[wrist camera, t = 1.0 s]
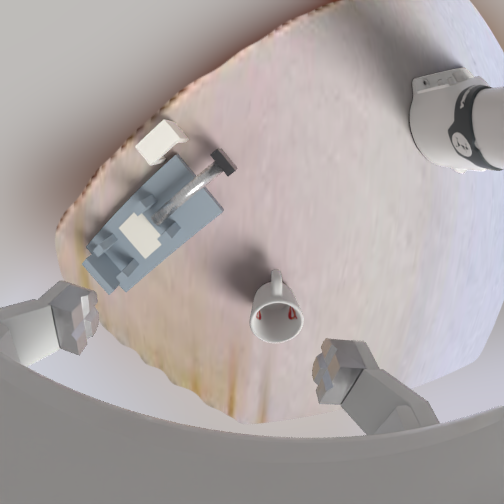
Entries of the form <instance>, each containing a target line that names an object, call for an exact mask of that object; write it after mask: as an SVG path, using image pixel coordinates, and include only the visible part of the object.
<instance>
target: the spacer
mask: <svg viewBox="0 0 504 504" xmlns="http://www.w3.org/2000/svg"><path fill="white" fill-rule="evenodd" d="M188 140H189V138H188V137H187V136H186V135H185V133H184V132H183V131H182V130H181V129H180V128H179V126H178V125H177V124H176V123H175V122H173V121H169V120H166V119H164V120H162V121H161V122H160V123H159V124H158V125H157V126H156V127H155V128H154V129H153V130H152V131H151V132H149V133H148V134H147V135H146V136H145V137H144V138H143V139H142V140H141V141H140V142H139V143H138V144H137V145H136V146H135V147H136V149H137V150H138V151H139V152H140V154H141V155H142V156H143V157H144V159H145V160H146V161H147V162H148V163H149V165H150V166H151V165H155V164H160V163H163V162H164V161H165V160H166V158H165V157H164V154H166V153H167V152H168V151H169V150H170V149H171V148H172V147H173V146H174V145H176V144H177V143H185V142H186V141H188Z"/></svg>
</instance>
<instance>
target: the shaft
mask: <svg viewBox="0 0 504 504" xmlns="http://www.w3.org/2000/svg"><path fill="white" fill-rule="evenodd" d="M210 155H211V156H212V158H213V159H214V160H215V161H214V162H213V163H212V164H211V165H209V166H208V167H207V168H206V169H205V170H203V171H202V172H201V173H200V174H199V175H197V176H196V177H195V178H194V179H193V180H191V181H190V182H189V183H188V184H187V185H186V186H184V187H183V188H182V189H181V190H180V191H179V192H178V193H176V194H175V195H174V196H173V197H172V198H171V199H170V200H169V201H167V202H166V203H165V204H164V205H163V206H162V207H161V208H160V209H159V210H158V211H157V212H155V213H154V214H153V215H152V216H151V219H152V221H153V222H154V223H155V224H156V225H158V226H159V225H160V224H161V223H163V222H164V221H165V220H166V219H167V218H168V217H169V216H170V215H172V214H173V213H174V212H175V211H176V210H177V209H178V208H180V207H181V206H182V205H183V204H184V203H185V202H187V201H188V200H189V199H190V198H191V197H192V196H194V195H195V194H196V193H197V192H198V191H200V190H201V189H202V188H203V187H204V186H206V185H207V184H208V183H209V182H211V181H212V180H213V179H214V178H215V177H217V176H218V175H219V174H220V173H222V172H223V171H224V172H225V174H226V175H227V176H229V175H231V174H232V173H233V172H234V171H236V169H237V167H236V166H235V164H234V163H233V162H232V161H231V160H230V158H229V157H228V156H227V155H226V153H225V152H224V151H223V150H222V149H217V150H215V151H214V152H213V153H212V154H210Z"/></svg>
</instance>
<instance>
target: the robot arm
mask: <svg viewBox="0 0 504 504" xmlns="http://www.w3.org/2000/svg"><path fill="white" fill-rule="evenodd" d="M423 82H424V83H425V85H424V83H423ZM412 87H413V101H412V104H411V109H410V127H411V132H412V135H413V138H414V141H415V143H416V145H417V147H418V148H419V150H420V151H421V153H422V154H423V155H424V156H425V157H426V158H427V159H428V160H429V161H430V162H432V163H433V164H435V165H438V166H442V167H449V168H451V169H453V170H454V171H455V172H457V173H460V174H464V173H465V172H466V171H467V170H473V171H485V170H486V169H487V170H496V171H500V170H503V169H504V87H497V88H492V87H490V86H489V85H488V83H487V82H486V81H485V80H484V79H483V78H482V77H480V76H477V77H474V76H473V75H472V73H471V72H470V71H469V70H467V69H466V68H456V69H451V70H447V71H442V72H438V73H433V74H429V75H425V76H421V77H417V78H415V79H413V82H412ZM97 302H98V300H97V294H96V292H95V291H93V290H90V289H87V288H84V287H81V286H78V285H75V284H72V283H69V282H66V281H59V282H57V284H55V285H54V286H53V287H52V288H51V289H49V290H48V291H47V292H46V293H45V294H43V295H42V296H41V297H40V298H39V299H38V300H35V299H32V300H29V301H25V302H21V303H17V304H13V305H9V306H6V307H2V308H0V504H504V406H497V407H494V408H491V409H489V410H486V411H483V412H480V413H477V414H473V415H470V416H467V417H463V418H460V419H456V420H453V421H448V422H445V423H439V421H438V419H437V417H436V415H435V413H434V411H433V409H432V408H431V406H430V404H429V402H428V401H426V400H425V399H424V398H422V397H421V396H419V395H418V394H417V393H415V392H414V391H412V390H411V389H410V388H408V387H407V386H405V385H404V384H403V383H401V382H400V381H398V380H397V379H396V378H394V377H393V376H392V375H390V374H389V373H387V372H386V371H385V370H383V369H379V367H378V365H377V363H376V361H375V359H374V357H373V355H372V353H371V351H370V349H369V347H368V346H367V344H366V342H364V341H355V340H351V341H350V340H339V339H329V338H326V339H325V340H324V341H323V344H322V346H321V349H322V353H321V354H319V355H318V356H317V357H316V359H315V361H314V364H313V369H312V376H313V380H314V382H315V383H316V384H317V385H318V387H317V389H316V393H317V397H318V401H319V404H335V405H341V407H342V408H343V409H344V410H345V411H346V412H347V413H348V415H349V416H350V417H351V418H352V419H353V420H354V421H355V422H356V423H357V425H358V426H359V427H360V428H361V429H362V430H363V431H364V432H365V433H366V434H367V435H365V436H352V437H335V438H334V437H333V438H293V437H291V438H290V437H272V436H258V435H249V434H240V433H232V432H224V431H218V430H211V429H206V428H200V427H195V426H190V425H185V424H180V423H176V422H171V421H167V420H163V419H159V418H155V417H151V416H148V415H144V414H141V413H137V412H134V411H130V410H127V409H124V408H121V407H118V406H115V405H112V404H109V403H106V402H104V401H101V400H98V399H95V398H93V397H90V396H87V395H85V394H83V393H80V392H78V391H75V390H73V389H71V388H68V387H66V386H64V385H62V384H60V383H57V382H55V381H53V380H51V379H49V378H47V377H45V376H42V375H41V374H39V373H37V372H35V371H33V370H31V369H29V368H28V366H30V365H32V364H34V363H35V362H37V361H39V360H41V359H43V358H45V357H47V356H49V355H50V354H52V353H54V352H56V351H58V350H60V348H61V349H63V350H66V351H69V352H71V353H74V354H77V355H80V354H81V352H82V351H83V350H84V348H85V347H86V345H87V338H90V337H93V335H94V334H95V332H96V330H97V327H98V323H99V312H98V311H97V309H96V308H95V305H96V303H97Z"/></svg>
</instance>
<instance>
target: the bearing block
mask: <svg viewBox="0 0 504 504" xmlns="http://www.w3.org/2000/svg"><path fill="white" fill-rule="evenodd" d="M195 177H196V175H195V174H194V173H193V172H192V170H191V169H190V168H189V167H188V166H187V164H186V163H185V162H184V161H183V160H182V158H181V157H180V156H179V155H175V156H174V157H172V158H171V159H170V160H169V161H168V162H167V163H166V164H165V165H164V166H163V167H161V168H160V169H159V170H158V171H157V172H156V173H155V174H154V175H153V176H152V177H151V178H150V179H149V180H148V181H147V182H146V183H145V184H144V185H143V186H142V187H141V188H140V189H139V190H138V191H137V192H136V193H135V194H134V195H133V196H132V197H131V198H130V199H129V200H128V201H127V202H126V203H125V204H124V205H123V206H122V207H121V208H120V209H119V210H118V211H117V212H116V213H115V214H114V216H113V217H112V218H111V219H110V220H109V221H108V222H107V223H106V224H105V225H104V227H103V228H102V229H101V230H100V231H99V232H98V233H97V235H96V236H95V237H94V238H93V239H92V240H91V241H90V243H89V244H88V245H87V246H86V247H87V249H88V250H89V251H90V252H91V254H92V255H90V256H89V257H88V258H86V260H85V261H84V262H83V263H82V265H83V266H84V267H85V268H86V269H87V271H88V272H89V273H90V274H91V275H92V276H93V278H94V279H95V280H96V281H97V282H98V283H99V284H100V286H101V287H102V288H103V289H104V290H105V291H106V292H107V293H108V294H109V295H110V294H111V293H112V292H113V291H114V290H115V289H116V288H117V286H118V285H119V286H120V287H121V288H122V289H123V290H124V291H125V292H127V291H128V290H129V289H131V288H132V287H133V286H134V285H135V284H136V283H137V282H139V281H140V280H141V279H142V278H143V277H144V276H146V275H147V274H148V273H149V272H150V271H151V270H153V269H154V268H155V267H156V266H157V265H158V264H160V263H161V262H162V261H163V260H164V259H165V258H167V257H168V256H169V255H170V254H171V253H173V252H174V251H175V250H176V249H177V248H179V247H180V246H181V245H182V244H184V243H185V242H186V241H187V240H188V239H190V238H191V237H192V236H193V235H195V234H196V233H197V232H198V231H199V230H201V229H202V228H203V227H204V226H206V225H207V224H208V223H209V222H211V221H212V220H213V219H215V218H216V217H217V216H218V215H220V214H221V213H222V212H223V211H224V209H223V208H222V207H221V206H220V204H219V203H218V202H217V201H216V199H215V198H214V197H213V196H212V195H211V193H210V192H209V191H208V190H207V189H206V187H205V186H204V187H203V188H202V189H201V190H200V191H198V192H197V193H196V194H195V195H194V196H192V197H191V198H190V199H189V200H188V201H187V202H185V203H184V204H183V205H182V206H181V207H180V208H178V209H177V210H176V211H175V212H174V213H173V214H172V215H170V216H169V217H168V218H167V219H166V220H165V221H164V222H163V223H161V224H160V225H159V226H158V225H156V224H155V223H154V222H153V221H152V219H151V216H152V215H153V214H154V213H155V212H157V211H158V210H159V209H160V208H161V207H162V206H163V205H164V204H165V203H166V202H167V201H169V200H170V199H171V198H172V197H173V196H174V195H175V194H176V193H178V192H179V191H180V190H181V189H182V188H183V187H184V186H186V185H187V184H188V183H189V182H190V181H191V180H193V179H194V178H195Z"/></svg>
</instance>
